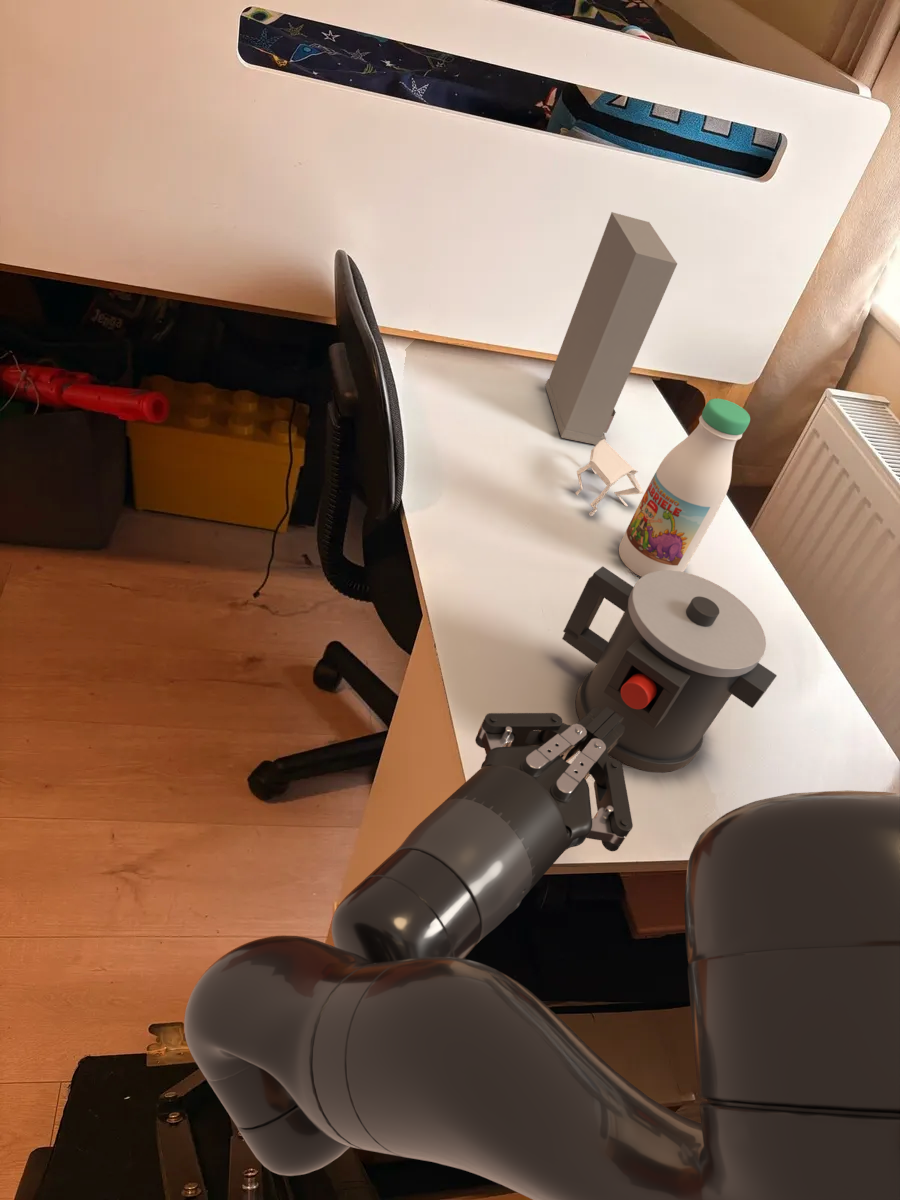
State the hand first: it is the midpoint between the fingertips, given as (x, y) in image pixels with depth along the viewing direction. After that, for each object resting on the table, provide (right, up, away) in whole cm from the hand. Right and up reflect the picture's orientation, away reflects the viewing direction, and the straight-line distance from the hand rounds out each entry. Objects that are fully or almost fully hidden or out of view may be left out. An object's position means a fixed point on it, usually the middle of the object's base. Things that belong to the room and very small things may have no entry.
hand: (611, 718), depth 67 cm
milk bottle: (+10, +13, +34) cm, 38 cm away
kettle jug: (+4, -2, +14) cm, 15 cm away
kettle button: (+2, +1, +4) cm, 5 cm away
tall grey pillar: (+5, +34, +56) cm, 66 cm away
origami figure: (+6, +22, +43) cm, 48 cm away
